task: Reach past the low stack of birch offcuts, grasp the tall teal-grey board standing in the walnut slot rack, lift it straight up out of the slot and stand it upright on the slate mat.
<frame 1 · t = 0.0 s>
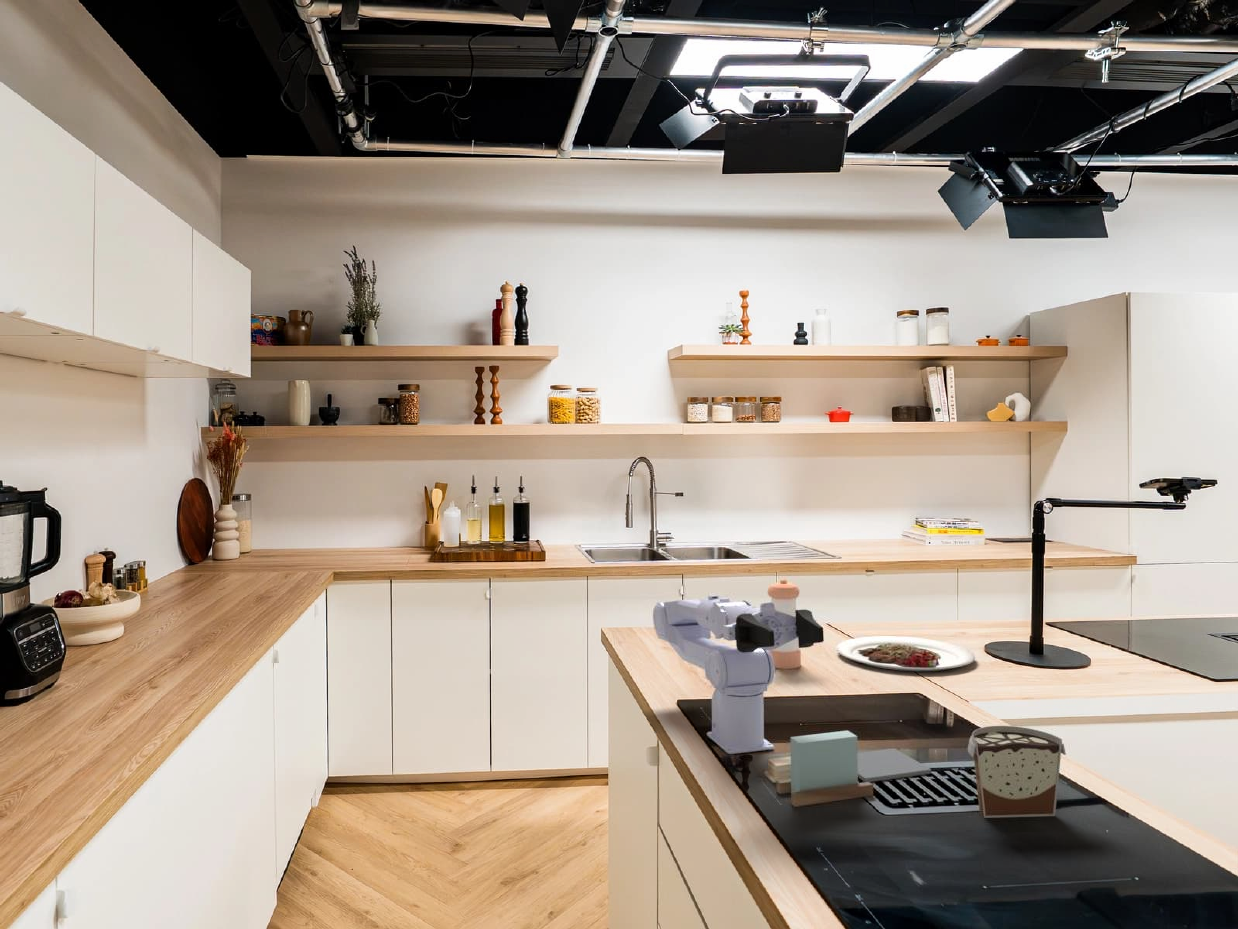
hand: (796, 636, 114), 22 cm above the worktop, tool horizontal, fingers open, 7 cm apart
slate mat: (880, 766, 122), on the worktop
offcut planks: (800, 777, 120), on the worktop
plated food: (904, 659, 187), on the worktop
tall board: (824, 794, 113), on the worktop
walnut rack: (824, 793, 113), on the worktop
pepper shaker: (784, 665, 182), on the worktop
food container: (1007, 808, 108), on the worktop
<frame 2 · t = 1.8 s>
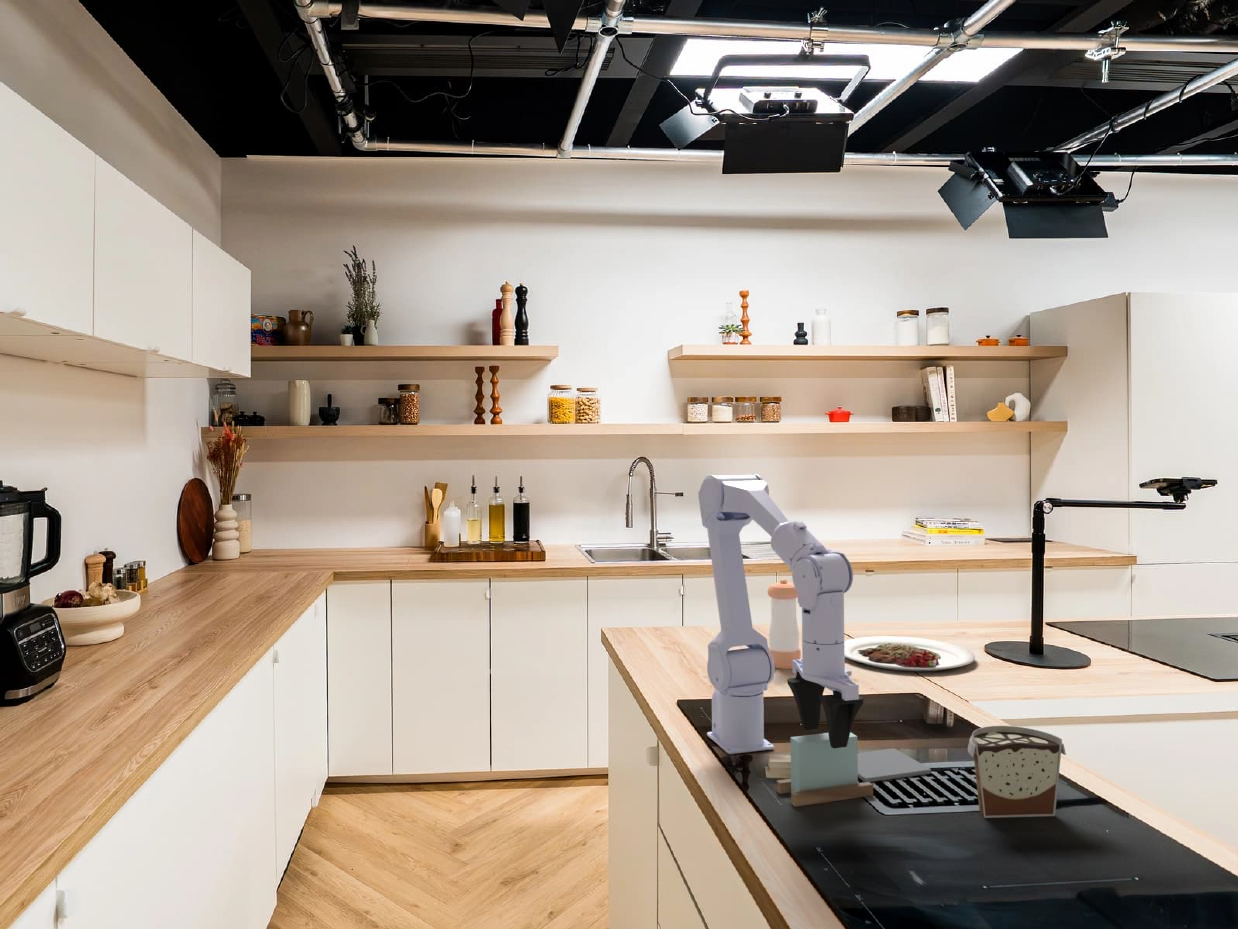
hand: (824, 737, 113), 8 cm above the worktop, tool pointing down, fingers open, 7 cm apart
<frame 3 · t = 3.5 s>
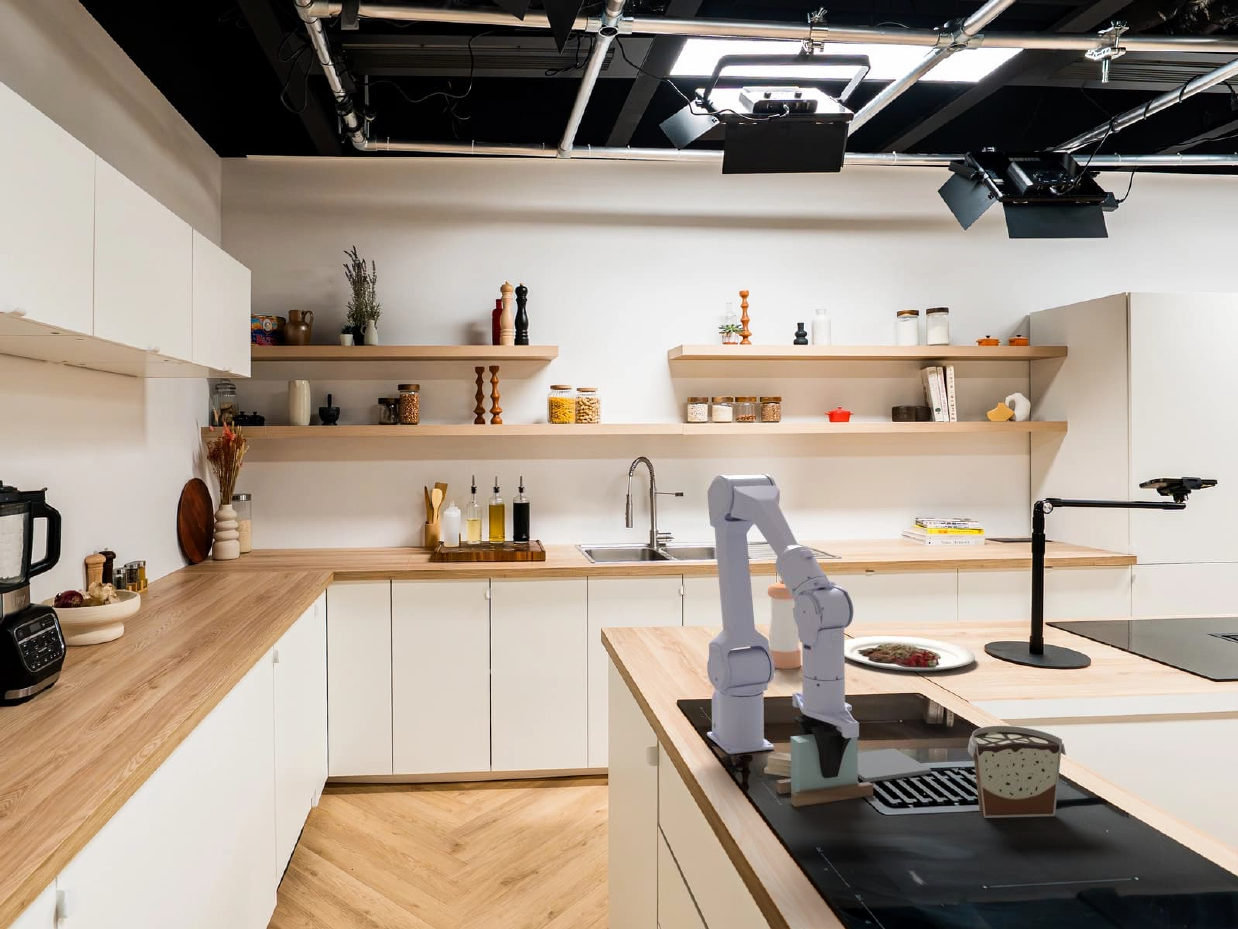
hand: (824, 772, 113), 3 cm above the worktop, tool pointing down, fingers closed on tall board, 2 cm apart
tall board: (824, 793, 113), on the worktop, touching gripper
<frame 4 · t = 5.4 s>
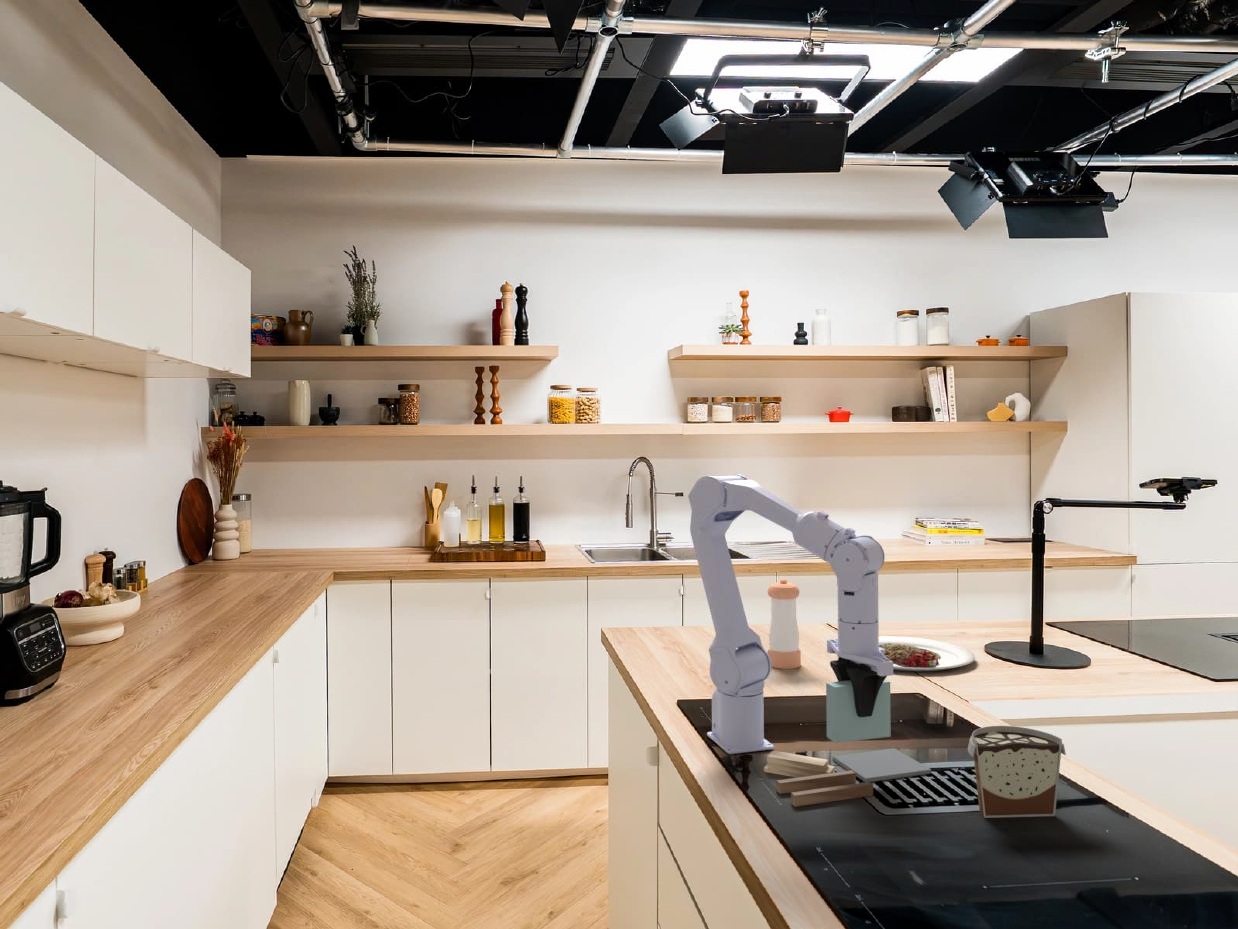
hand: (858, 712, 118), 9 cm above the worktop, tool pointing down, fingers closed on tall board, 2 cm apart
tall board: (858, 736, 118), point 6 cm above the worktop, touching gripper
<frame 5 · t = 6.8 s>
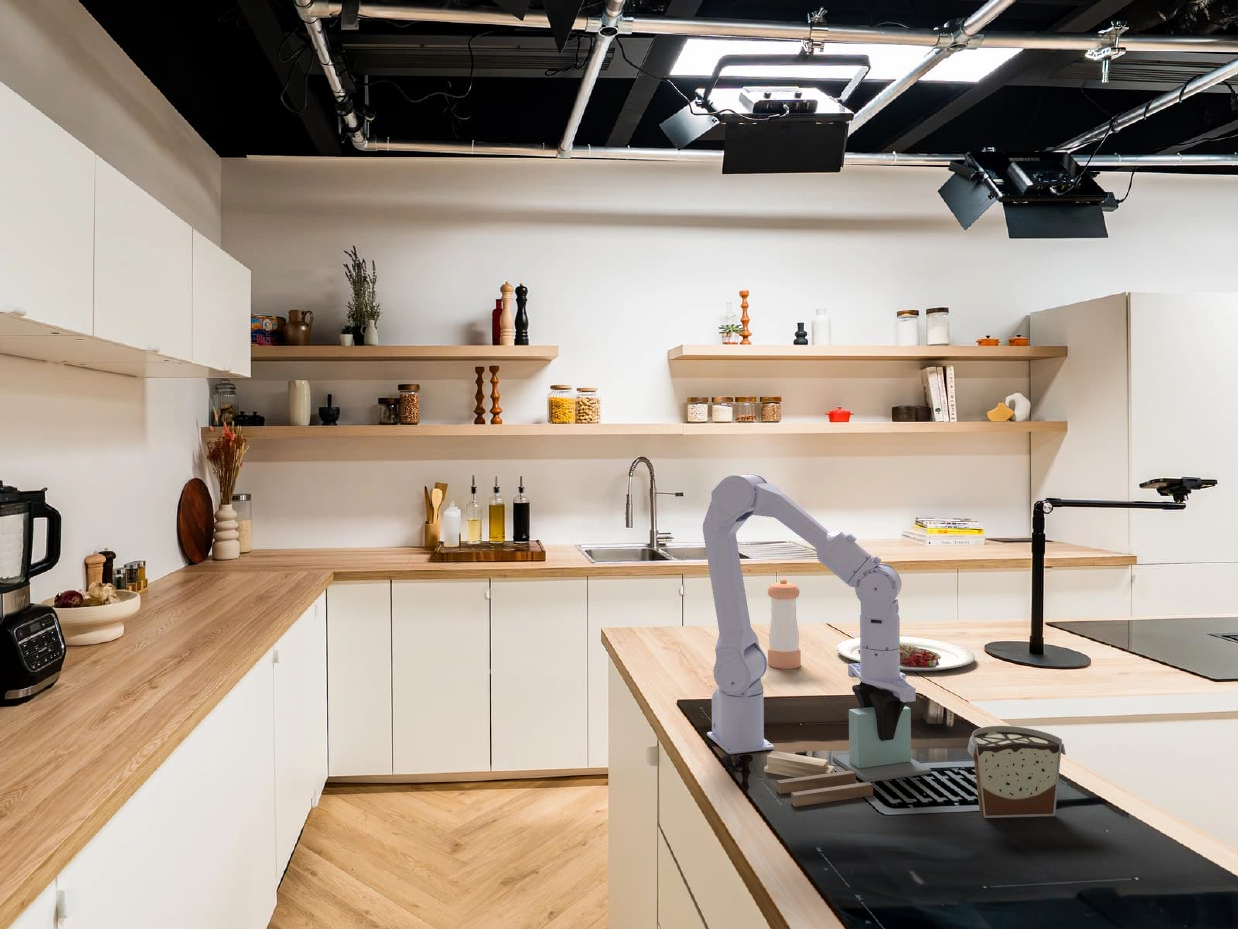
hand: (880, 736, 122), 5 cm above the worktop, tool pointing down, fingers closed on tall board, 2 cm apart
tall board: (880, 761, 122), point 1 cm above the worktop, touching gripper
everything else where it was.
when the fingers open (5 cm above the worktop, at t = 7.5 s): tall board stays where it is, resting on slate mat.
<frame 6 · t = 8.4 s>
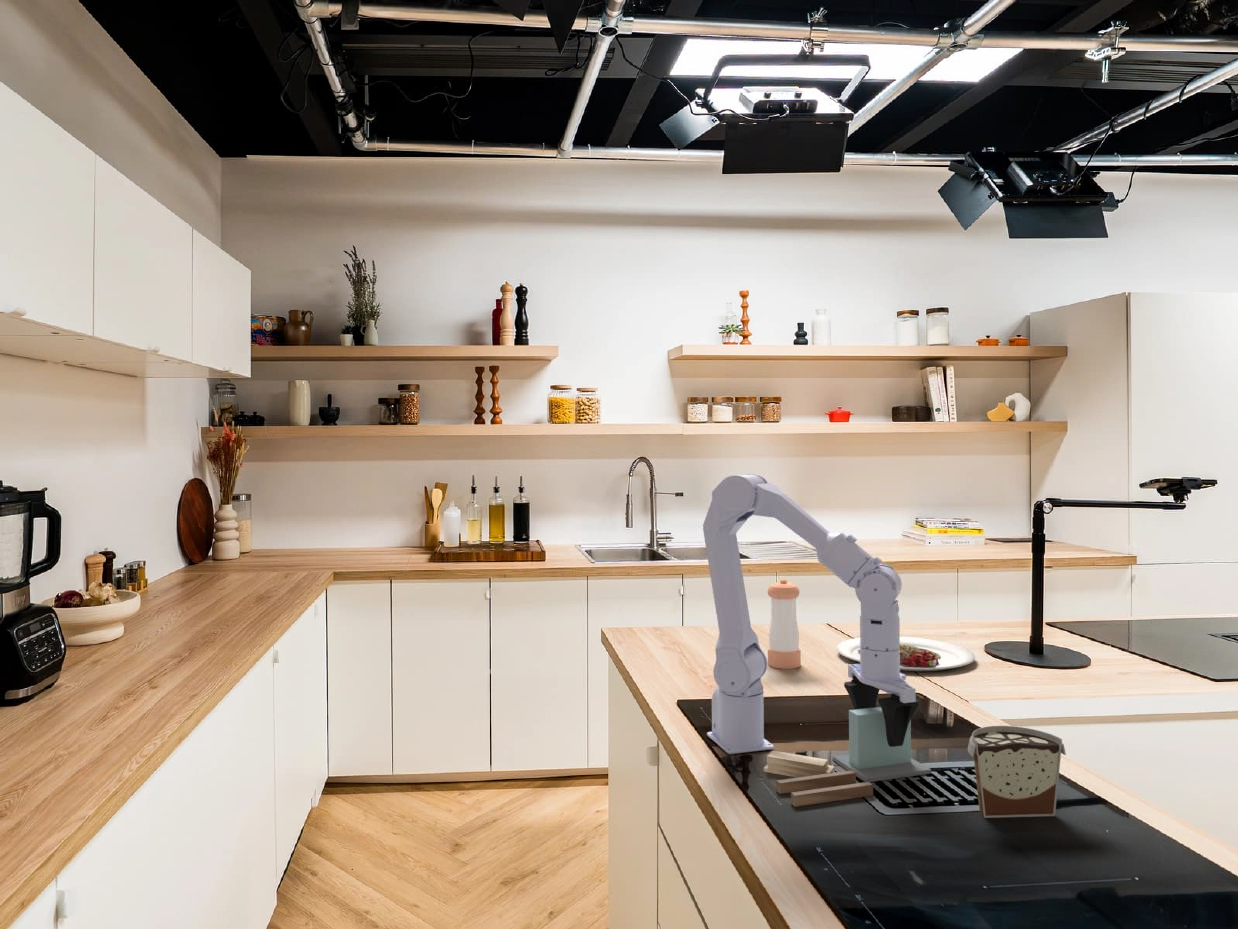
hand: (880, 736, 122), 5 cm above the worktop, tool pointing down, fingers open, 7 cm apart
tall board: (880, 762, 122), point 1 cm above the worktop, touching slate mat
everything else where it was.
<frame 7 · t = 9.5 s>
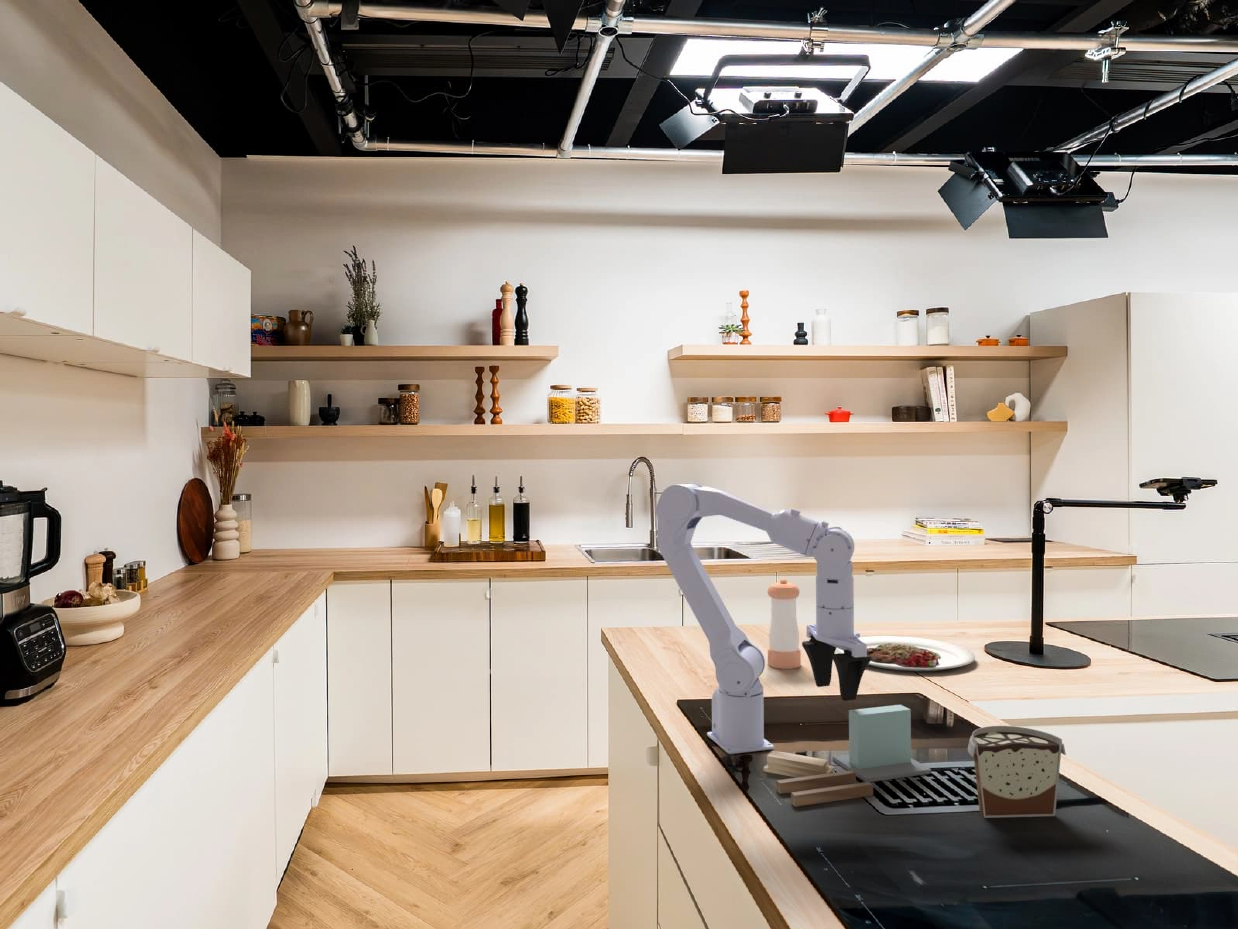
hand: (835, 692, 127), 10 cm above the worktop, tool pointing down, fingers open, 7 cm apart
nothing on the worktop moved.
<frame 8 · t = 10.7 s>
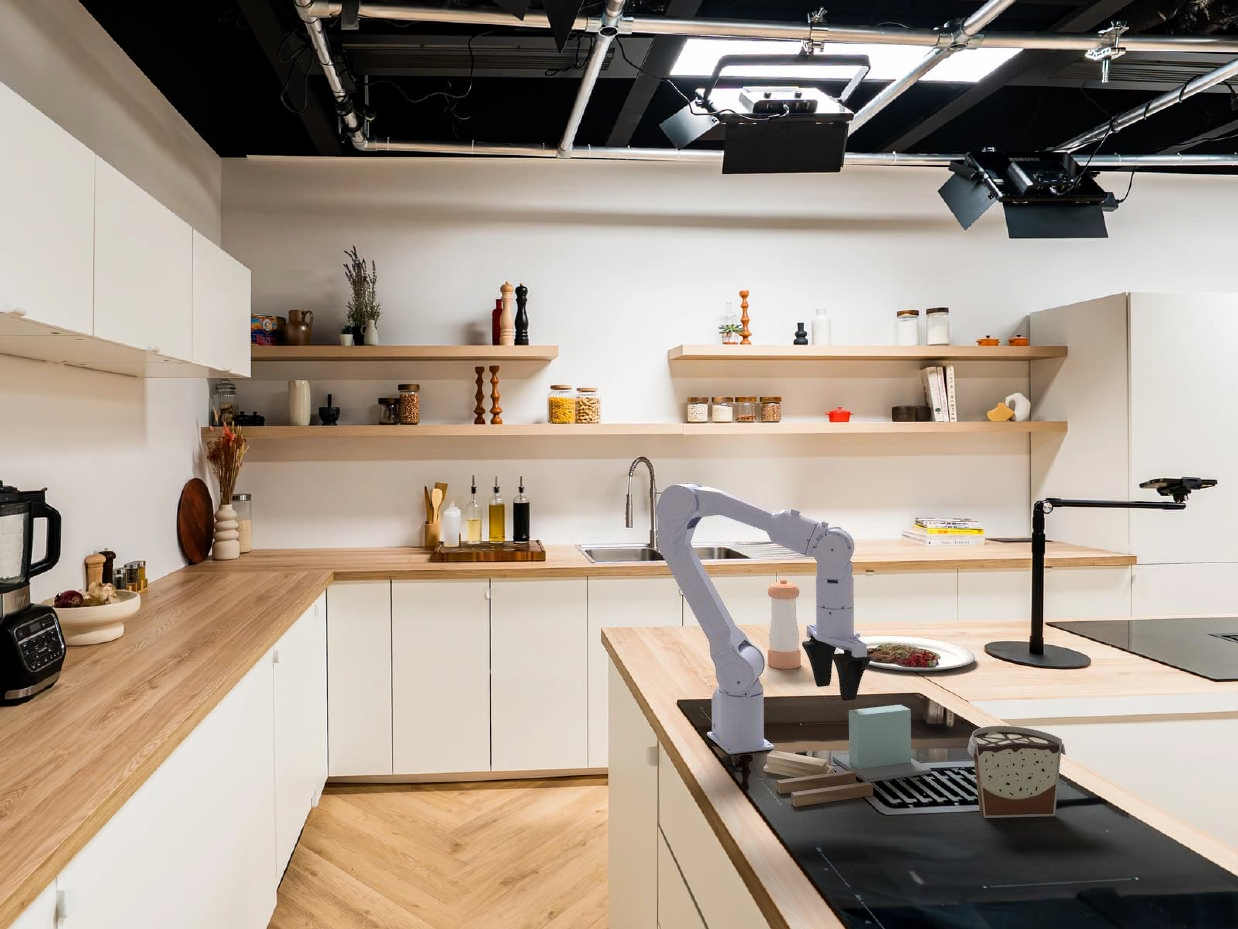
hand: (835, 692, 127), 10 cm above the worktop, tool pointing down, fingers open, 7 cm apart
nothing on the worktop moved.
at the end: tall board 0.1 cm off-centre on the slate mat, point 0.6 cm above the slate mat's base; tall board tilted 0°; the gripper is holding nothing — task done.
